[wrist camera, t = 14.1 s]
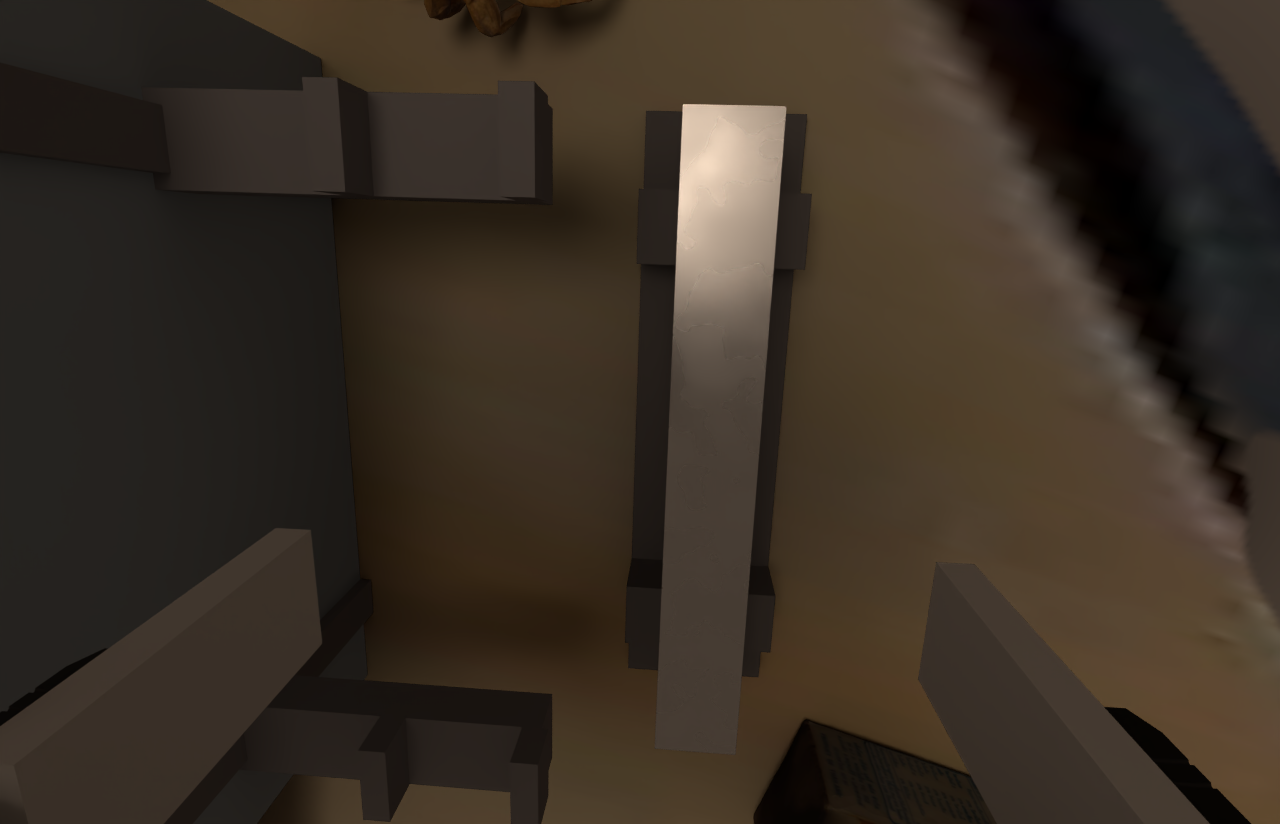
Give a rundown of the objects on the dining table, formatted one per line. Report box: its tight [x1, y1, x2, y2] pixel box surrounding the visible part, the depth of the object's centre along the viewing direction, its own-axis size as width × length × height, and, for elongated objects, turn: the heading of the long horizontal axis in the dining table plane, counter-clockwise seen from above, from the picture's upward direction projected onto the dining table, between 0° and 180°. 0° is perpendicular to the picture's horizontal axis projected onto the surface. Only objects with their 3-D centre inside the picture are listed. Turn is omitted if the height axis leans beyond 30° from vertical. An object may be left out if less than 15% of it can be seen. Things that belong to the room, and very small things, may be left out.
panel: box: [0, 0, 553, 824], centre depth 24 cm, size 14×32×20 cm, turn 178°
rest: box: [625, 111, 812, 677], centre depth 32 cm, size 7×28×4 cm, turn 178°
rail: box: [655, 104, 786, 755], centre depth 28 cm, size 4×26×4 cm, turn 178°
